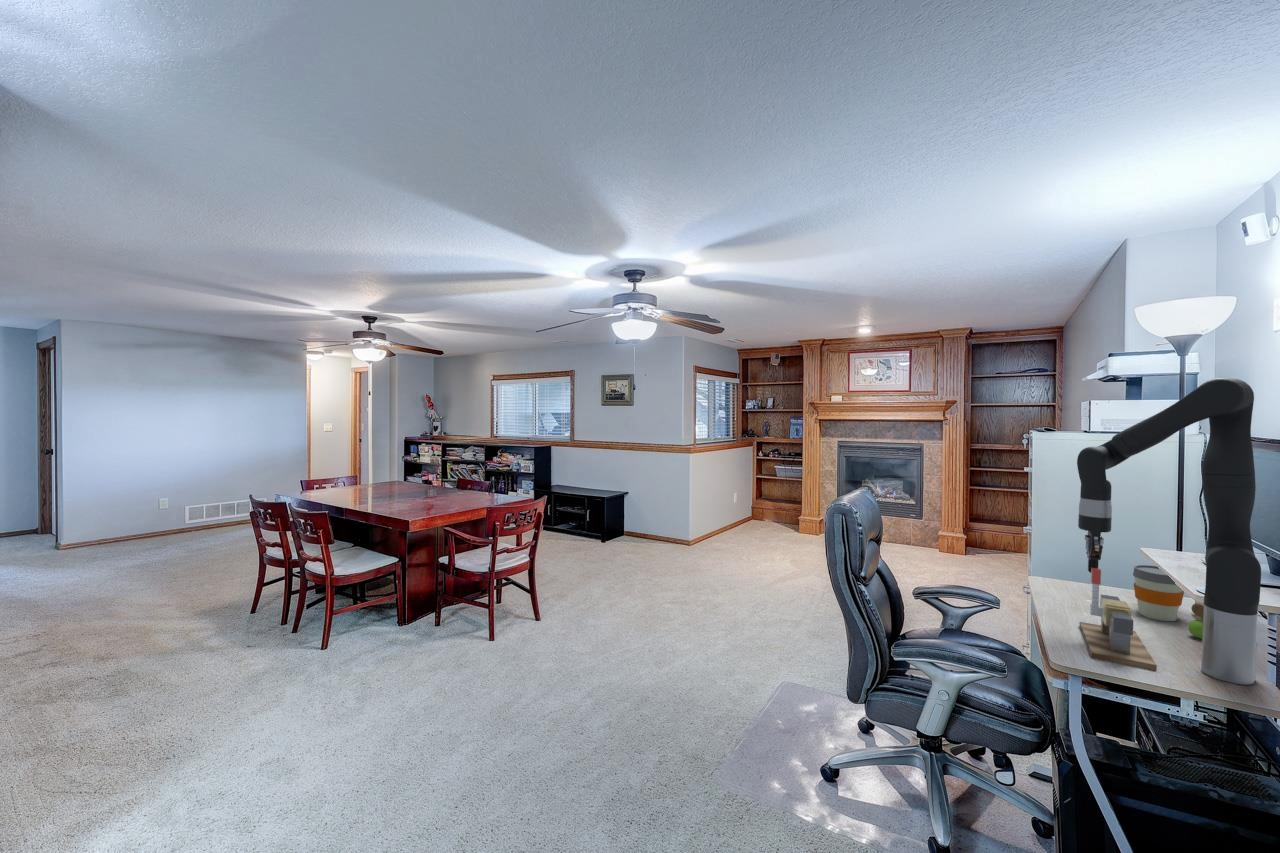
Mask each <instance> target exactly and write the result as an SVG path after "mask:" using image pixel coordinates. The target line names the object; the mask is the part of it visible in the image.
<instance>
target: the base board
mask: <svg viewBox="0 0 1280 853" xmlns="http://www.w3.org/2000/svg"><path fill="white" fill-rule="evenodd" d="M1078 626H1079V630H1080V631H1081V634H1082V638H1083V639H1084V642H1085V644H1086V647H1087V650H1088V652H1089V654H1090V657H1091V659H1094V660H1099V661H1104V662H1110V663H1114V664H1119V665H1124V666H1131V667H1136V668H1140V669H1146V670H1148V671H1149V670H1151V671H1155V672H1157V667H1158V665H1157V663H1156V662H1155V660H1154V659H1153V657H1152V656H1151V654H1150V653H1149V651H1148V649H1147V647H1146V646H1145V644H1144V643H1143V641H1142V639H1141V638H1140V636H1139V634H1138V633H1137V632H1136V630H1133V635H1131V643H1130V654H1126V653H1120V652H1115V651H1111V650H1110V648H1109V634H1104V633H1102V632H1101V624H1094V623H1089V622H1084V621H1079V625H1078Z"/></svg>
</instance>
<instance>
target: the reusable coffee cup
mask: <svg viewBox="0 0 1280 853" xmlns="http://www.w3.org/2000/svg"><path fill="white" fill-rule="evenodd" d="M1158 567H1159V566H1158ZM1158 567H1157V565H1148V564H1146V565H1145V564H1139V565H1135V566H1133V573H1132V576H1133V578H1134V582H1133V590H1134V597H1135V598H1136V600H1137V606H1138V607H1137V609H1138V613H1139V614H1140V615H1141V616H1143V617H1146V618H1148V619H1153V620H1158V621H1164V622H1165V621H1166V622H1175V621H1176V620H1177V617H1178V613H1179V608H1180V607H1181V606H1182V603H1183V598H1184V594H1185V591H1184V589H1183V590H1182V589H1181V588H1179V587H1178V586H1177V585H1176V584H1175V582H1174V581H1173V580H1172V579H1171V578H1170V577H1169V576H1168V575H1167V574H1165V573H1164V572H1163V571H1162V570H1161V569H1159V568H1158Z"/></svg>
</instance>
